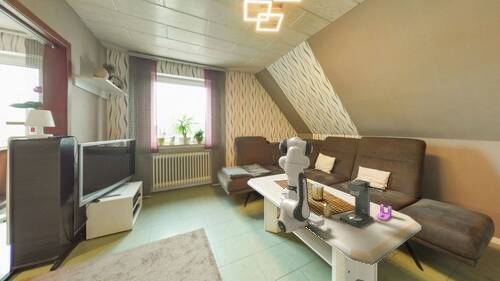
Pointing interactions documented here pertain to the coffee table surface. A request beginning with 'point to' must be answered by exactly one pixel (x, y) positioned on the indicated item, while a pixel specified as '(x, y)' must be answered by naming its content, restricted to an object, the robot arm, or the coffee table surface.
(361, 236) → the coffee table surface
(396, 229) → the coffee table surface
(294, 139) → the robot arm
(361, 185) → the press
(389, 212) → the bracket
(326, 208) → the bottle
